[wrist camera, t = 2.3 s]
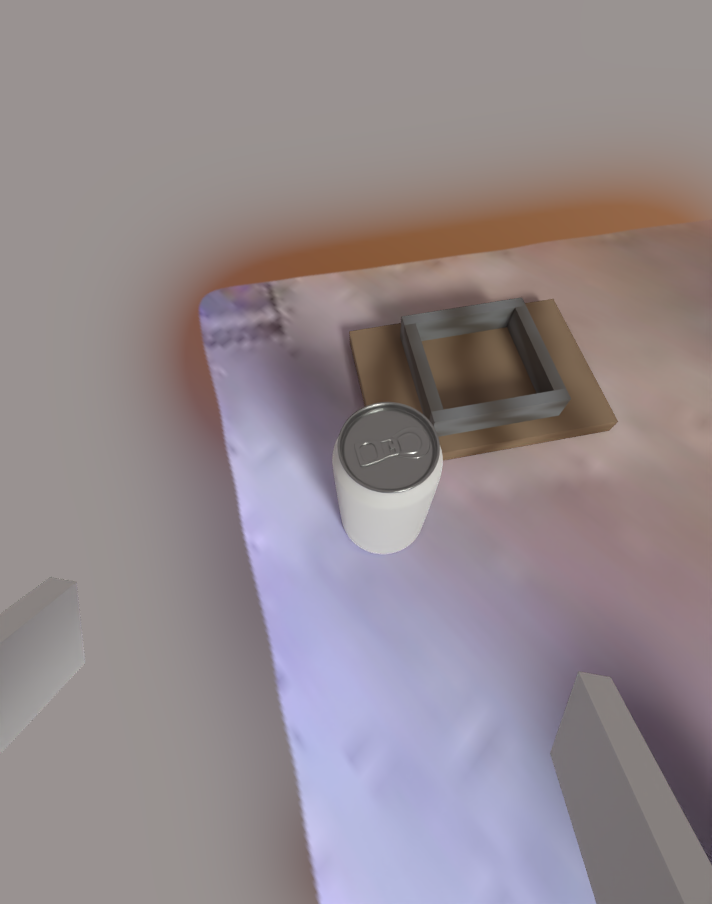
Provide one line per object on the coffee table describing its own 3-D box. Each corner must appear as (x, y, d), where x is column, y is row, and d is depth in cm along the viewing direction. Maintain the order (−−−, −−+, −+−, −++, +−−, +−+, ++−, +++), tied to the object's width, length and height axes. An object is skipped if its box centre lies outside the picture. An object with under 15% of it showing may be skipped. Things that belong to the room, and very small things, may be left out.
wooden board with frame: (547, 310, 44) (563, 278, 40) (609, 430, 38) (634, 405, 34) (350, 342, 43) (348, 311, 39) (379, 471, 37) (381, 449, 33)
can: (434, 544, 34) (465, 483, 23) (352, 565, 33) (345, 513, 22) (408, 469, 37) (426, 384, 26) (332, 488, 36) (318, 409, 25)
